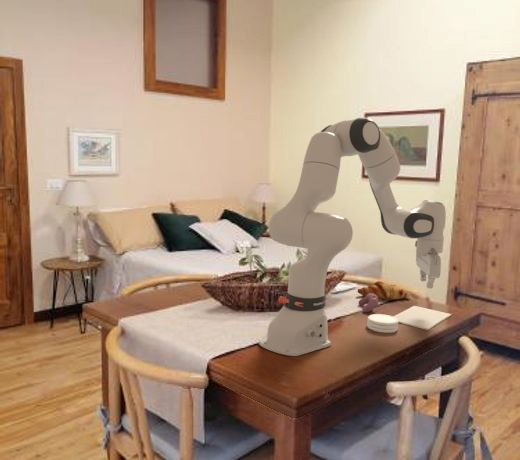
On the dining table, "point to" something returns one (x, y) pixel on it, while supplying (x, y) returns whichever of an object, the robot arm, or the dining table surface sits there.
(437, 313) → the cream rectangular panel
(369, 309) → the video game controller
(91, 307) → the dining table surface
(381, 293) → the croissant
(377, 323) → the coaster
